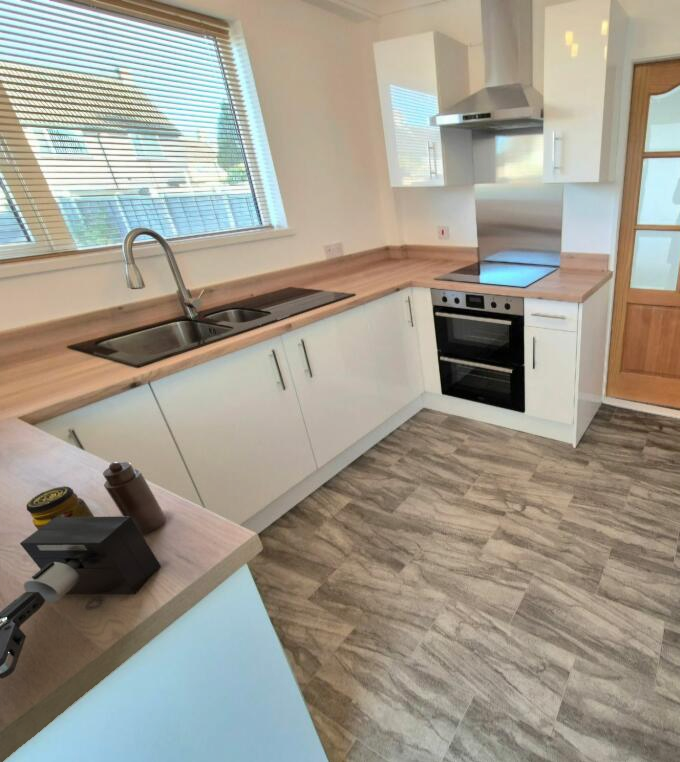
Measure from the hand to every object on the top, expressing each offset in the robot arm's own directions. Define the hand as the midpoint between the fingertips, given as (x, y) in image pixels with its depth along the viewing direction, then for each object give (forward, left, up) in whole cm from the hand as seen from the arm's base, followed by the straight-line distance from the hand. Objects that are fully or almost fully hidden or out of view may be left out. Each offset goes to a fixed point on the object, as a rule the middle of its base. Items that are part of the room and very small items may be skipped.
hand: (36, 596), depth 56 cm
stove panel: (+2, +8, -7) cm, 10 cm away
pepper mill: (+1, +19, -7) cm, 21 cm away
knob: (+1, +3, -2) cm, 4 cm away
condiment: (-7, +16, -7) cm, 19 cm away
